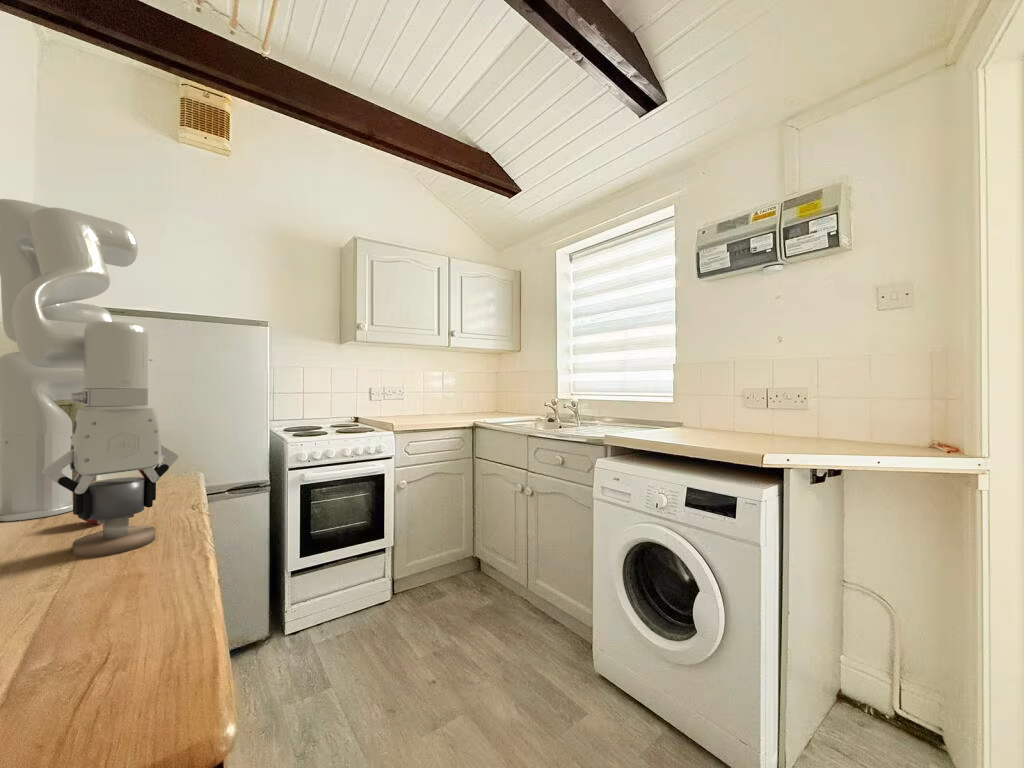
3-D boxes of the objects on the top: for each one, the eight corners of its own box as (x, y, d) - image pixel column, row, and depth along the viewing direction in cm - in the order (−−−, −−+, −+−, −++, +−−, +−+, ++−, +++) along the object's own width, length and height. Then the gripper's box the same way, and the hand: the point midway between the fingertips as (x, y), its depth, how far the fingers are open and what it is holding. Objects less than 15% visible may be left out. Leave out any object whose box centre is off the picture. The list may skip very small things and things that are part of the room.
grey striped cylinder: (74, 521, 63) (74, 487, 63) (109, 506, 71) (109, 476, 71) (128, 517, 65) (128, 484, 65) (157, 503, 73) (157, 473, 73)
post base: (63, 549, 66) (63, 516, 66) (141, 530, 74) (141, 502, 74) (84, 562, 61) (84, 527, 61) (165, 541, 69) (165, 510, 69)
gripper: (43, 402, 58) (42, 532, 58) (191, 398, 73) (191, 502, 73) (29, 401, 62) (29, 523, 62) (172, 398, 77) (172, 496, 77)
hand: (116, 511), depth 67 cm, fingers closed on grey striped cylinder, 6 cm apart
